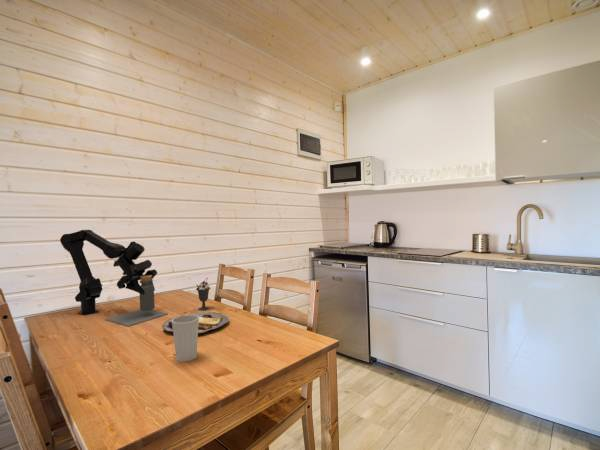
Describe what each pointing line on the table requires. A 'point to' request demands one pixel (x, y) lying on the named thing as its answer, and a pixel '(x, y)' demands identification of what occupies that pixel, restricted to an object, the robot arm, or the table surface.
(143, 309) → the bottle
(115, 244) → the robot arm
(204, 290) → the sundae
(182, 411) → the table surface
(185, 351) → the cup
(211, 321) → the food plate
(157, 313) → the mat
